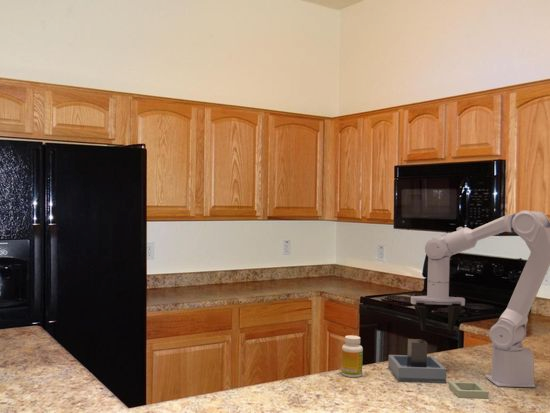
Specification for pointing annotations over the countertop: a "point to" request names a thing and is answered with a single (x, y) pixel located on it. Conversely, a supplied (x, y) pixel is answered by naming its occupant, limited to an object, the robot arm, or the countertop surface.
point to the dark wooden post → (417, 353)
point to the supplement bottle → (352, 357)
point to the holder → (473, 391)
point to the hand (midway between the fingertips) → (436, 330)
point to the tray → (417, 370)
